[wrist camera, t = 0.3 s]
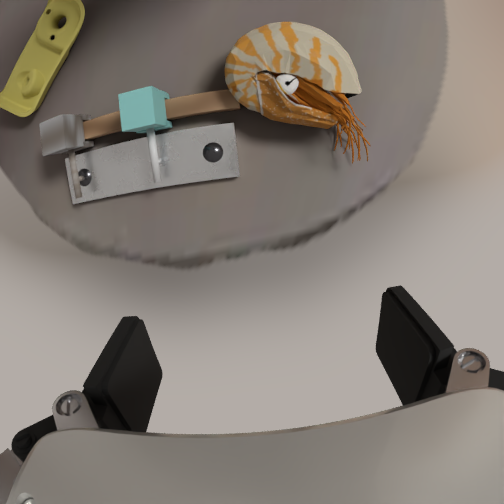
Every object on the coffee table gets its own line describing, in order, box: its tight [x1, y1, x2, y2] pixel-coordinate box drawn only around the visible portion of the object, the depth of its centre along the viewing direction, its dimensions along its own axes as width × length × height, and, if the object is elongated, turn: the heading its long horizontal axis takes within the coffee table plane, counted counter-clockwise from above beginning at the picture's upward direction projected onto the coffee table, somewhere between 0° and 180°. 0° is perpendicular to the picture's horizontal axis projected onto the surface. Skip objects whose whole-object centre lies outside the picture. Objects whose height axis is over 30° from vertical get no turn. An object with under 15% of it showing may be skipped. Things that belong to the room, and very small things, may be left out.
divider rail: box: [39, 89, 240, 199], centre depth 32 cm, size 11×25×8 cm, turn 96°
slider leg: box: [118, 86, 172, 183], centre depth 32 cm, size 11×4×8 cm, turn 6°
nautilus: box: [225, 22, 370, 164], centre depth 31 cm, size 8×22×15 cm
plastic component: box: [0, 0, 85, 117], centre depth 28 cm, size 20×7×10 cm
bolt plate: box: [65, 123, 240, 204], centre depth 36 cm, size 7×25×1 cm, turn 96°
